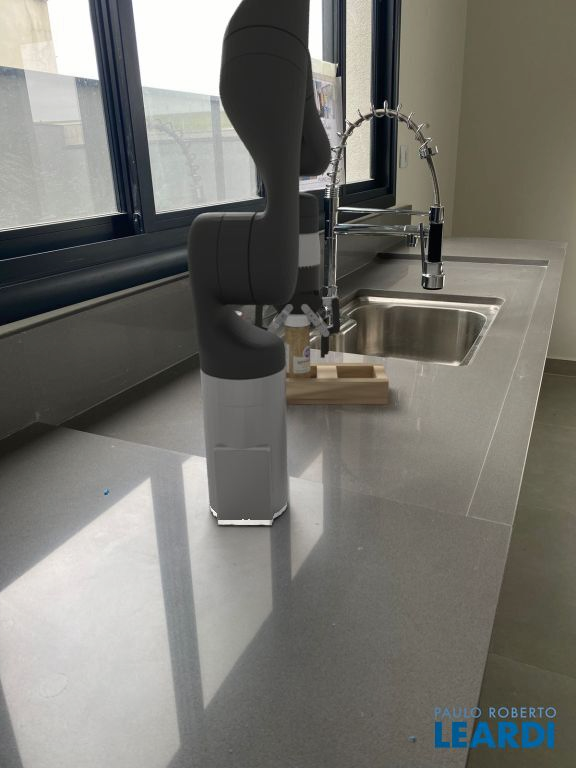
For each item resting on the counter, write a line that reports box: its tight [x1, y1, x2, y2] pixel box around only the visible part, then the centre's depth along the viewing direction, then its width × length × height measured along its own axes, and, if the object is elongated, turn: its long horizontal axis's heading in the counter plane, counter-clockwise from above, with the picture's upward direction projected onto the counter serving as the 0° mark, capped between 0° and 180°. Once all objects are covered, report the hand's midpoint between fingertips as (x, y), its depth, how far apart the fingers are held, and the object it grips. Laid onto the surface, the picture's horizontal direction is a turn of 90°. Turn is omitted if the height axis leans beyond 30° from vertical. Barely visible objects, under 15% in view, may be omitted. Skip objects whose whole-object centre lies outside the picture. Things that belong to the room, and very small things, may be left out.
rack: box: [286, 362, 390, 405], centre depth 105 cm, size 10×20×4 cm, turn 88°
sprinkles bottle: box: [283, 314, 312, 378], centre depth 103 cm, size 5×5×14 cm
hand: (297, 356), depth 103 cm, fingers open, 8 cm apart
